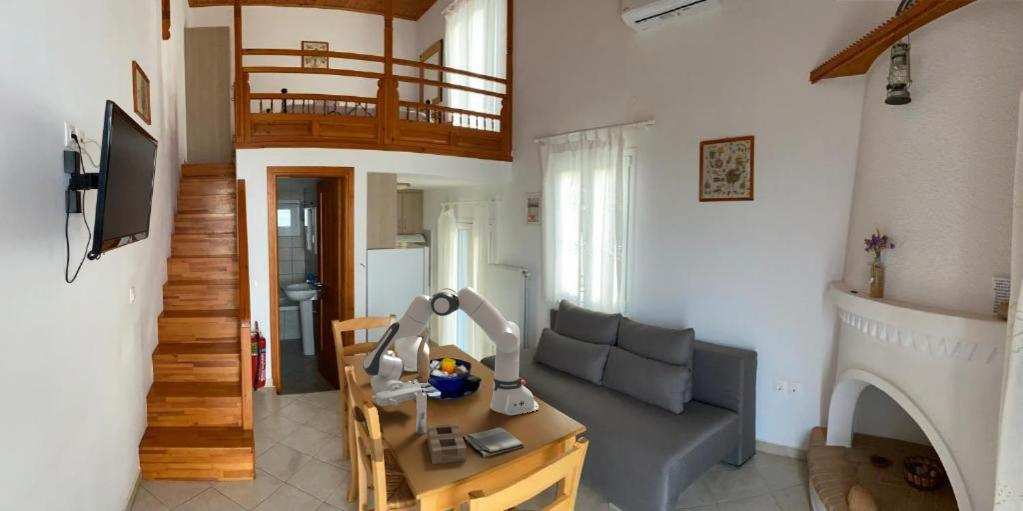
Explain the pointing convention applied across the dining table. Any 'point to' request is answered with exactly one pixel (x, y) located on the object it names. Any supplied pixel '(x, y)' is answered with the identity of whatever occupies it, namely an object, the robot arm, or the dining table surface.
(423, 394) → the pin
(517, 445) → the dish towel
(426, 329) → the bird sculpture
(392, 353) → the beer glass
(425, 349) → the decorative vase
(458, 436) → the bore block
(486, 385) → the dining table surface
